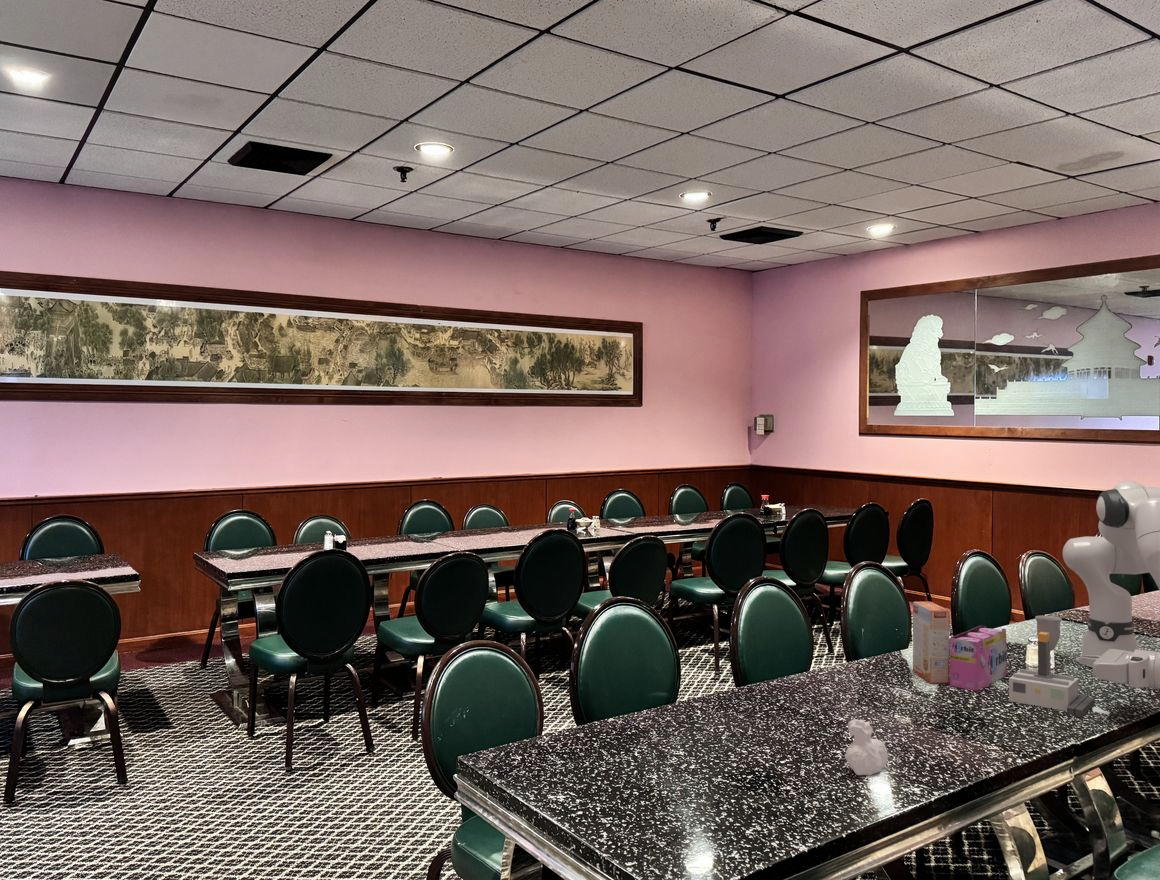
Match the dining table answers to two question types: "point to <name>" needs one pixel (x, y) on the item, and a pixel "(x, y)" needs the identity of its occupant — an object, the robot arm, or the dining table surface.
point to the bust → (865, 750)
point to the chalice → (1049, 631)
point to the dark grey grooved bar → (1081, 705)
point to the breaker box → (1043, 690)
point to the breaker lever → (1043, 656)
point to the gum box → (978, 658)
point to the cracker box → (931, 641)
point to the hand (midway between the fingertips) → (1080, 659)
